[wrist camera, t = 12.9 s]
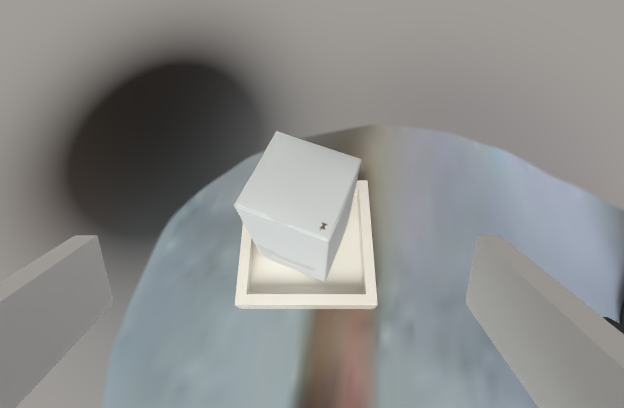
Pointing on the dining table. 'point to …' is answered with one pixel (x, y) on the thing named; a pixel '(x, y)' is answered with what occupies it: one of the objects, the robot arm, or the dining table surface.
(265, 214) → the supplement box
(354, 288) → the stoneware dish
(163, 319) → the dining table surface
